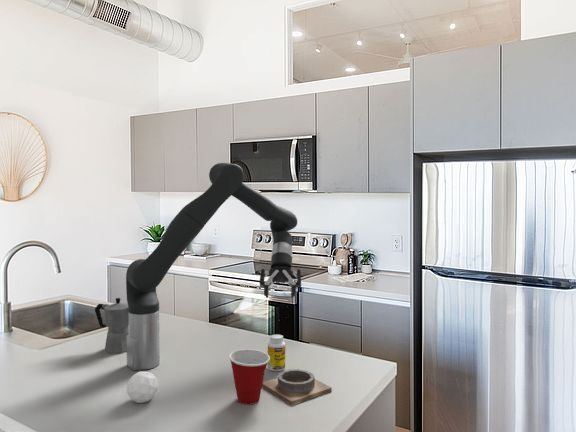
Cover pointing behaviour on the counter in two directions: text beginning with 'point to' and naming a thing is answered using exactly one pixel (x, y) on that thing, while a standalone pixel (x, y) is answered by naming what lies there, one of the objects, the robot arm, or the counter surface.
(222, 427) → the counter surface
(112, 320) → the coffeepot
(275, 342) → the supplement bottle
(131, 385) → the geometric ball
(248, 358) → the plastic cup
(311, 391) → the ring collar
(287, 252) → the robot arm
